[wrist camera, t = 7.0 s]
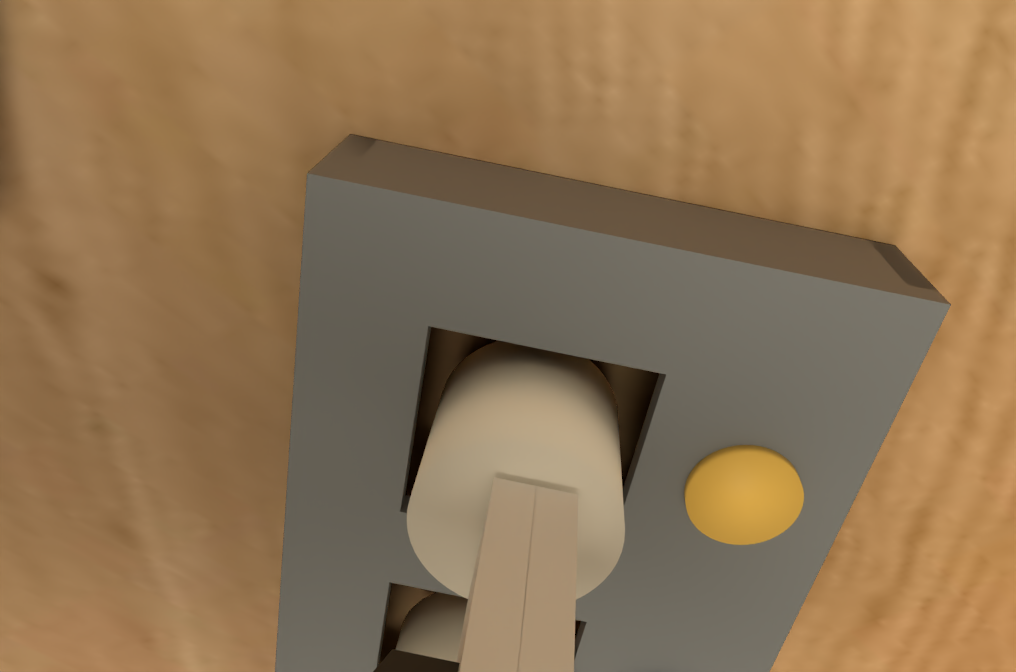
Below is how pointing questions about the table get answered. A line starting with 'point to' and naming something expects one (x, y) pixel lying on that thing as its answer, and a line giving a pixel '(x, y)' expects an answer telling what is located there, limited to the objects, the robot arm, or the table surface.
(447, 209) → the console
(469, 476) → the button
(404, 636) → the button
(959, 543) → the table surface
